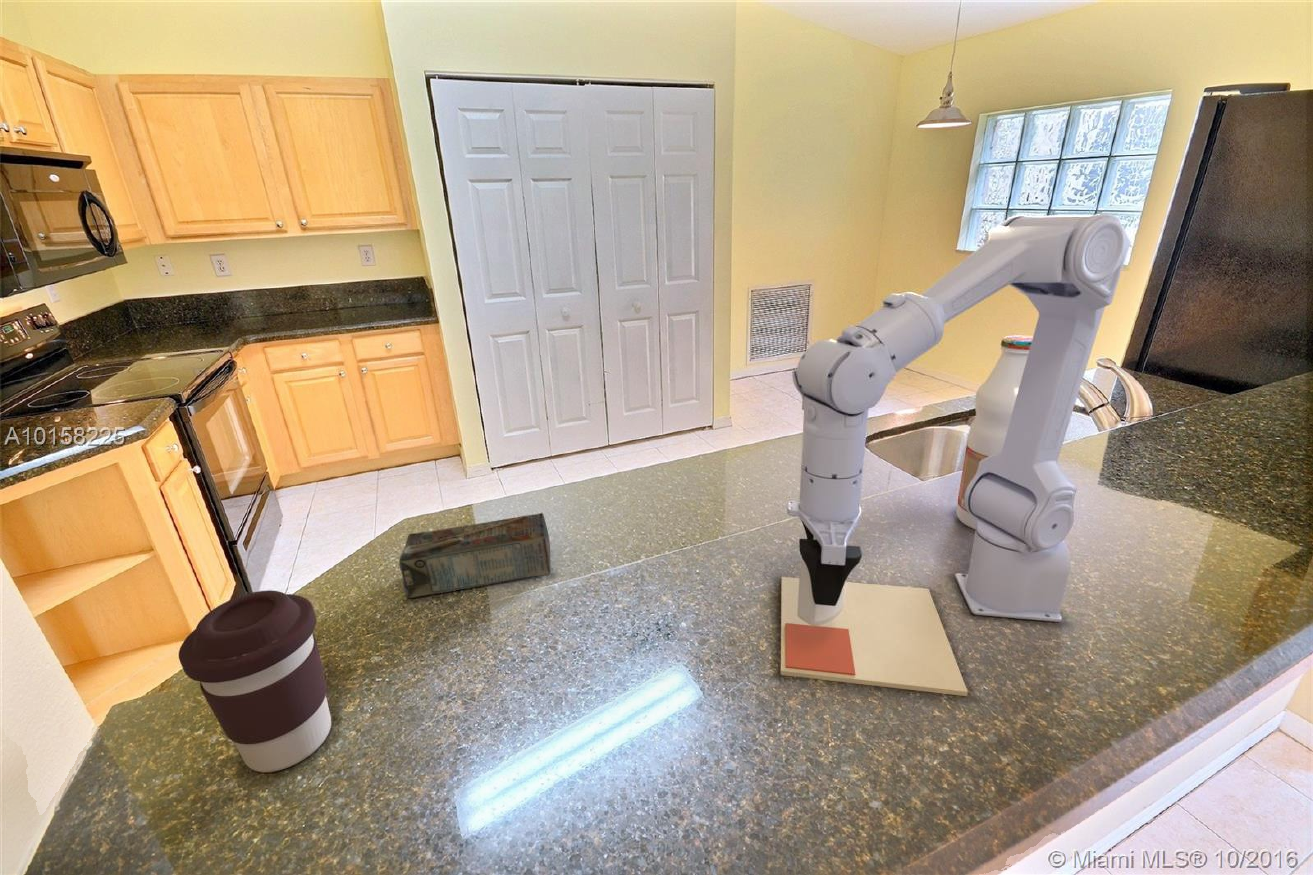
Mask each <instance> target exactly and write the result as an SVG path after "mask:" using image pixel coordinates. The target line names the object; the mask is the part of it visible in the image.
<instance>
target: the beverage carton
mask: <svg viewBox="0 0 1313 875" xmlns="http://www.w3.org/2000/svg"><path fill="white" fill-rule="evenodd" d="M401 552H402V553H401V554H400V557H399V559H398V566H399V570H400V573H401V577H402V584H403V587H404V590H405V594H406V597H407V598H408V599H412V598H417V597H422V596H429V595H436V594H442V593H443V594H444V593H449V592H454V591H459V590H460V591H461V590H464V589H470V588H475V587H483V586H487V585H493V584H498V583H502V582H503V583H504V582H507V581H508V582H509V581H514V580H519V579H526V578H532V577H538V576H543V575H549V574H551V542H550V535H549V531H548V527H547V523H546V519H545V516H544V513H543V512H541V513H535V514H528V515H521V516H517V517H516V516H515V517H510V518H503V519H497V520H492V521H487V522H480V523H475V524H467V525H462V526H455V527H448V528H442V529H436V530H431V531H421V532H415V533H409V534H408V536H407V537H406V541H405V544H404V547H403V549H402V551H401Z"/></svg>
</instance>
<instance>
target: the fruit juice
mask: <svg viewBox="0 0 1313 875" xmlns="http://www.w3.org/2000/svg"><path fill="white" fill-rule="evenodd" d="M1032 339H1033V335H1023V334H1022V335H1019V334H1016V335H1015V334H1013V335H1006V336H1003V337H1002V339H1001V343H1000V350H1001V354H1000V357H999V358H998V360H997V362H996V364H995V366H994V368H993V369H992V371H991V373H990V374H989V376H988V377H987V379H986V380H985V381H984V382H983V383H982V384H981V385H980V386H979V387H978V389H977V391H976V393H975V396H974V409H975V417H974V420H973V421H972V422H971V425H970V428H969V430H968V434H967V439H966V446H965V453H964V458H963V464H962V469H961V470H962V471H961V477H960V483H959V490H958V496H957V502H956V516H957V519H958V520H959V521H960V522H961V523H962V524H964V526H965V525H966V526H967V527H968V528H970V529H973V530H975V531H976V527H975V526H974V525H973V524H971V522H972V516H973V515H971V514H970V513H969V512H968V511H967V510H966V508H965V504H964V497H965V492H966V489H967V487H968V485H969V483H970V482H971V481H972V479H973V478H974V476H975V474H976V472H977V469H978V466H979V462H980V461H981V460H983V459H985V458H987V457H990V456H993V455H995V454H998V453H1001V452H1002V448H1003V445H1004V441H1005V437H1006V434H1007V430H1008V426H1009V423H1010V419H1011V416H1012V412H1013V408H1014V405H1015V401H1016V397H1017V394H1018V390H1019V386H1020V383H1021V379H1022V375H1023V372H1024V368H1025V365H1026V361H1027V357H1028V354H1029V350H1030V346H1031V343H1032Z"/></svg>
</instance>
